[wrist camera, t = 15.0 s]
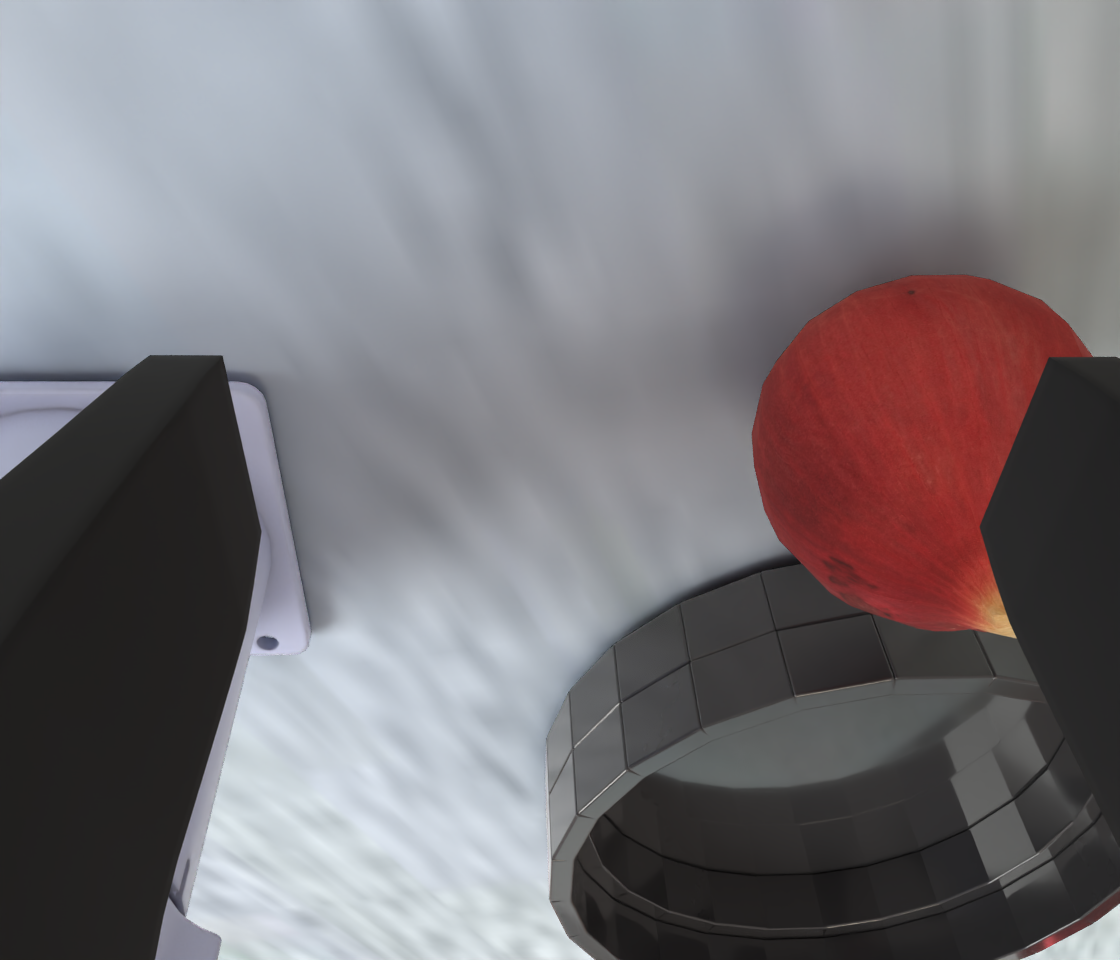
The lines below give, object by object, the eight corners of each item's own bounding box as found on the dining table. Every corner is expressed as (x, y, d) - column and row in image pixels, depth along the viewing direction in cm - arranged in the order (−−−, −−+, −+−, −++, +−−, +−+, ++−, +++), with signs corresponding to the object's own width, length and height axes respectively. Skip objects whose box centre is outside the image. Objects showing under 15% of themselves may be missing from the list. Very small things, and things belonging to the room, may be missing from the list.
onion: (965, 444, 22) (1139, 755, 16) (706, 447, 22) (784, 764, 16) (1055, 195, 18) (1326, 479, 12) (743, 194, 18) (863, 484, 12)
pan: (540, 889, 34) (543, 1013, 31) (551, 547, 24) (559, 683, 21) (1006, 877, 35) (1053, 997, 32) (1217, 541, 25) (1317, 671, 22)
